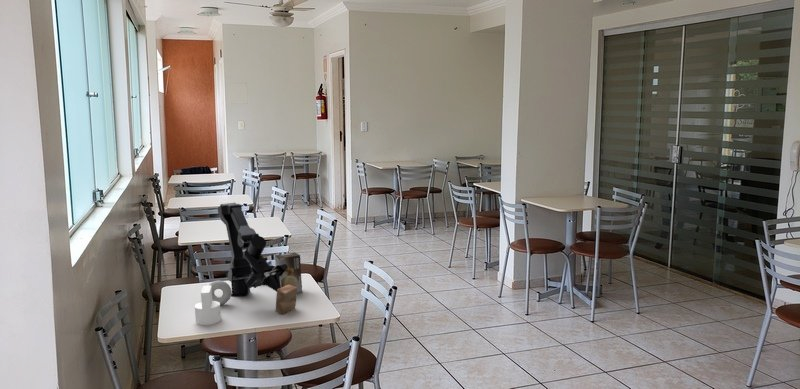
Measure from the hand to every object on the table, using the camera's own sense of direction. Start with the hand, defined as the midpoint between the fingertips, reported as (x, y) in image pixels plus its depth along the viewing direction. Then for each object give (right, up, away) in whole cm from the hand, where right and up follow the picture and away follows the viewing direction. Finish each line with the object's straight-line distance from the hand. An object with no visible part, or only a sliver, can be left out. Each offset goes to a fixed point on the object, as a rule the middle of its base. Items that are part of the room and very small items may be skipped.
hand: (280, 292), depth 236 cm
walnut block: (+2, -7, +1) cm, 7 cm away
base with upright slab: (-25, -9, -8) cm, 28 cm away
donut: (-26, -7, +9) cm, 28 cm away
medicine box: (-15, -2, +40) cm, 43 cm away
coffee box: (-1, -4, +24) cm, 25 cm away
